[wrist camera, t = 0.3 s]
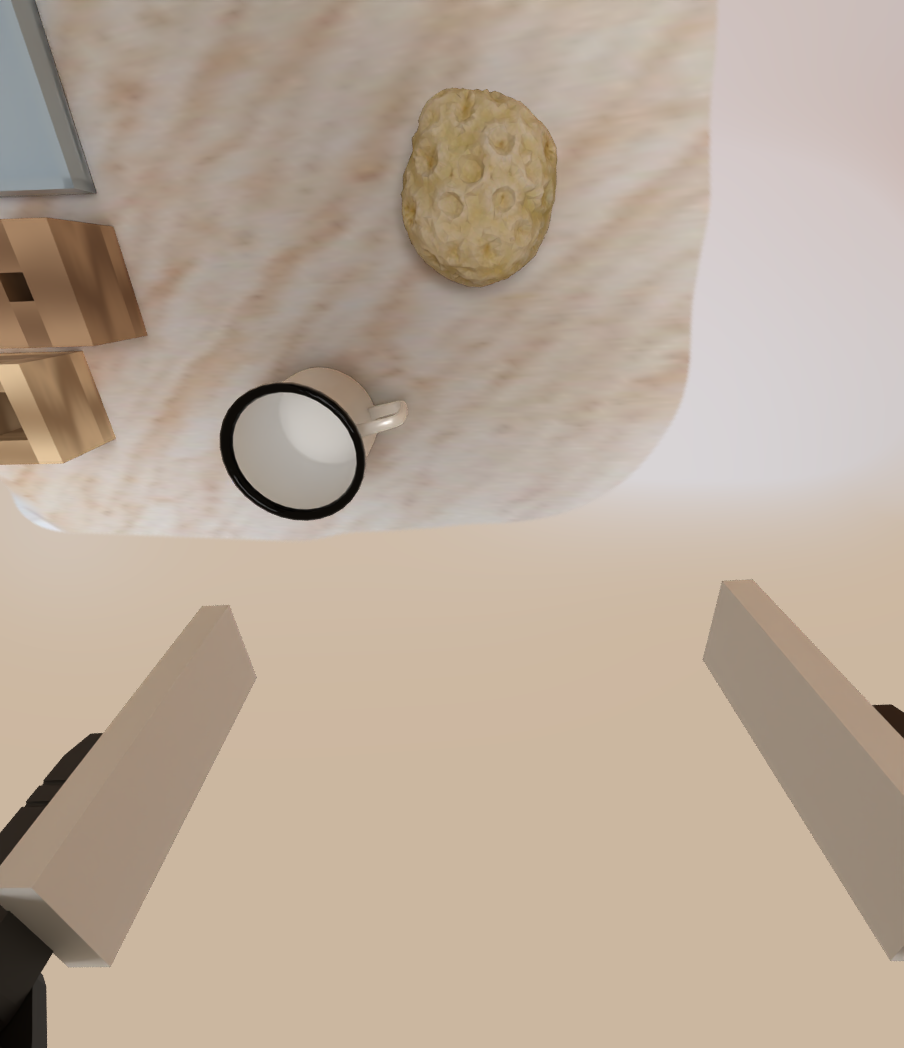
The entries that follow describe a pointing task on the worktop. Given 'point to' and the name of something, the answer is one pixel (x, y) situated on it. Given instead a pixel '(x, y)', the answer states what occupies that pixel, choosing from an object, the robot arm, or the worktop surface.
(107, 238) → the walnut block
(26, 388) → the oak block
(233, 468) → the mug
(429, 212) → the coral
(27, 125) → the tray
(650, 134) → the worktop surface
